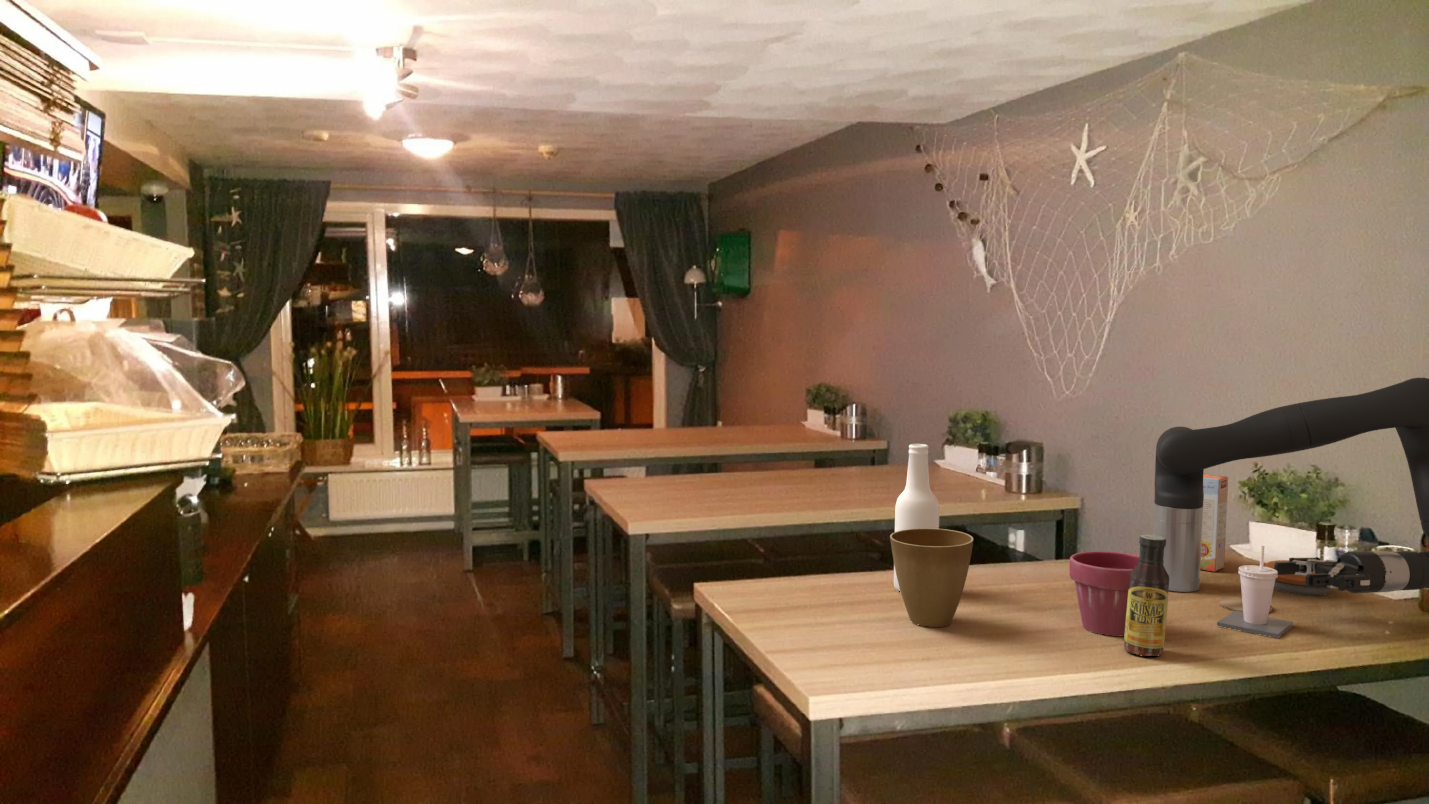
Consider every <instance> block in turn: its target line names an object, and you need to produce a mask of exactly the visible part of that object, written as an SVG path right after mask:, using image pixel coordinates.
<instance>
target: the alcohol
mask: <svg viewBox="0 0 1429 804" xmlns="http://www.w3.org/2000/svg"><path fill="white" fill-rule="evenodd" d="M908 448H909V449H908V463H907V474H906V481H905V482H906V484H905V487H904V490H903V491H902V492H901V493H900V494H899V496H898V497H897V499H896V503H895V505H894V506H895V507H894V509H895V511H894V512H895V513H894V532H897V531H901V530H907V529H918V528H934V529H940V504H939V501H938V498H937V497H936V495H935V494H934V493H933V492H932V490H931V486H930V473H929V471H930V467H929V448H930V447H929V445H928V444H924V443H912V444H911V443H910V444H909V445H908ZM893 586H894V588H895V590H896V589H897V590H899V591H900V587H899V583H898V579H897V575H896V570H895V566H894V565H893ZM897 590H896V591H897Z"/></svg>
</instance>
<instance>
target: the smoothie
mask: <svg viewBox="0 0 1429 804" xmlns="http://www.w3.org/2000/svg"><path fill="white" fill-rule="evenodd" d="M1259 558H1260V559H1259V565H1255V564H1254V565H1253V564H1252V565H1249V564H1245V565H1241V566H1239V567H1238V572H1237V573H1238V574H1239V576H1240V586H1241V588H1240V589H1241V591H1240V592H1241V598H1242V603H1243V615H1244V621H1246V622H1248V623H1252V624H1266V623H1267V619H1268V617H1269V614H1270V613H1269V609H1270V605H1271V603H1272V598H1273V595H1274V590H1275V589H1274V584H1275V579H1276V578H1277V577H1278V572H1277V570H1275V569H1272V568H1268V567H1264V566H1263V564H1265V563H1264V562H1265V561H1264V559H1265V546H1264V545H1261V546H1260V557H1259Z"/></svg>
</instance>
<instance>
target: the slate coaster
mask: <svg viewBox="0 0 1429 804" xmlns="http://www.w3.org/2000/svg"><path fill="white" fill-rule="evenodd" d="M1217 625H1218V626H1222V627H1226V628H1225V629H1227V628H1231V629H1230V630H1232V629H1236V630H1235V631H1237V630H1241V631H1240V632H1242V631H1245V632H1244V633H1247V632H1250V633H1249V634H1252V633H1255V634H1254V635H1257V634H1261V635H1260V636H1262V635H1266V636H1265V637H1267V636H1271V637H1270V638H1272V637H1276V638H1275V639H1277V638H1278V637H1279V636H1280V637H1282V636H1283V635H1285V633H1287V632H1288V631H1289V630H1290V629H1291V628H1293V627H1294V621H1292V620H1291V621H1290V620H1286V619H1283V618H1281V619H1280V618H1277V617H1276V618H1275V617H1270V616H1268V619H1267V623H1266V624H1252V623H1248V622H1246V621H1244V615H1243V612H1239V611H1232V612H1230V613H1229V614H1227V615H1226V616H1224V617H1223V618H1221V619H1219V620H1218V621H1217V622H1216V626H1217ZM1222 627H1221V628H1222ZM1287 630H1288V631H1287ZM1282 634H1283V635H1282ZM1280 637H1279V638H1280ZM1279 638H1278V639H1279Z"/></svg>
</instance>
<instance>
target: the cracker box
mask: <svg viewBox="0 0 1429 804" xmlns="http://www.w3.org/2000/svg"><path fill="white" fill-rule="evenodd" d="M1228 489H1229V476H1226V475H1225V476H1223V475H1214V474H1206V473H1204V474H1203V491H1204V501H1203V522H1202V542H1201V563H1200V571H1201V570H1202V571H1206V572H1207V571H1208V572H1211V573H1212V572H1213V573H1214V572H1218V571H1220V570H1222V569H1224V568H1225V560H1226V559H1225V557H1226V538H1227V537H1226V536H1227V515H1228V514H1227V513H1228Z"/></svg>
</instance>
